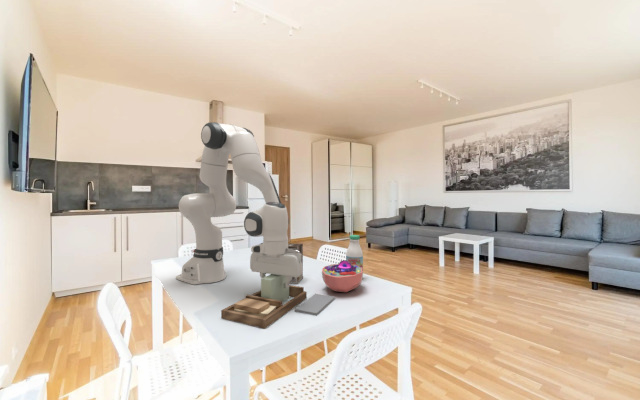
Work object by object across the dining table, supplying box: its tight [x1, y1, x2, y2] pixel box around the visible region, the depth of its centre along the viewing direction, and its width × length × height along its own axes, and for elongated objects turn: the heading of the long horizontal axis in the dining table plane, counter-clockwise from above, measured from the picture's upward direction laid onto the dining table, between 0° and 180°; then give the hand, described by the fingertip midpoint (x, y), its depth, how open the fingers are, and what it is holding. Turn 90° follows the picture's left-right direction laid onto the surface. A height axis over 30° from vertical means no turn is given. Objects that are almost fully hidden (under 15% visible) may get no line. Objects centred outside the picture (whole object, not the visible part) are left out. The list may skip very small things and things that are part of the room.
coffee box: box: [288, 243, 304, 285], centre depth 127 cm, size 9×6×16 cm
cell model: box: [321, 259, 364, 293], centre depth 115 cm, size 17×20×11 cm
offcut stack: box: [233, 297, 276, 318], centre depth 90 cm, size 13×7×4 cm, turn 71°
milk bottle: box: [345, 234, 364, 280], centre depth 130 cm, size 8×8×20 cm
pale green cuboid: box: [260, 274, 290, 303], centre depth 101 cm, size 4×12×10 cm, turn 155°
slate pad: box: [294, 293, 336, 317], centre depth 99 cm, size 8×16×1 cm, turn 156°
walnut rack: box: [220, 284, 308, 329], centre depth 97 cm, size 16×26×4 cm, turn 156°
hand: (275, 286), depth 101 cm, fingers open, 7 cm apart
